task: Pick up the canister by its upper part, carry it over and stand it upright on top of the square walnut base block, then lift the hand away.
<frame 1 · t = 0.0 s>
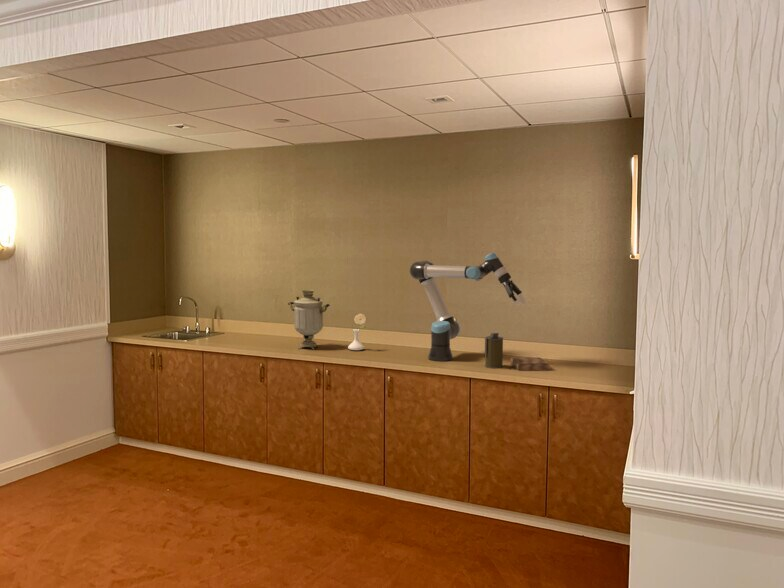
hand: (522, 304, 367), 36 cm above the counter, tool tilted 35°, fingers open, 13 cm apart
flower in vase: (357, 350, 410), on the counter
samovar: (311, 347, 419), on the counter
walnut base: (529, 367, 356), on the counter
canister: (493, 366, 358), on the counter
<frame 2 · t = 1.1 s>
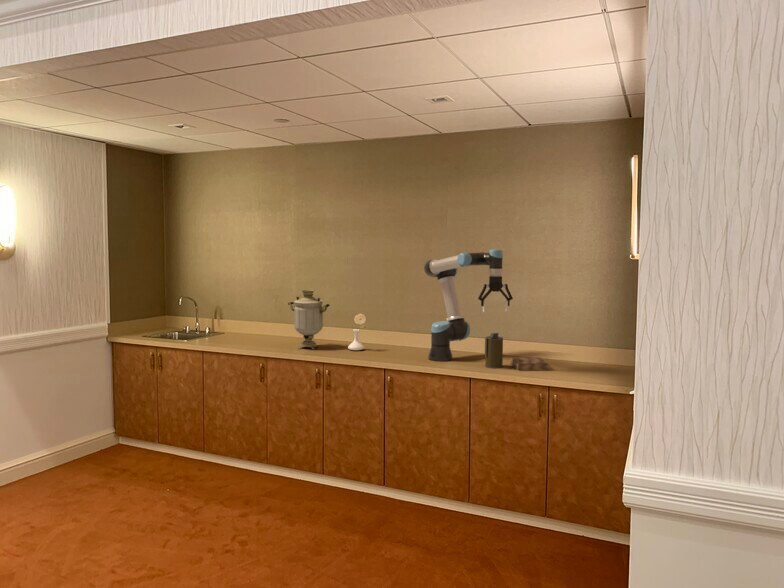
hand: (495, 311, 355), 33 cm above the counter, tool pointing down, fingers open, 13 cm apart
nothing on the counter moved.
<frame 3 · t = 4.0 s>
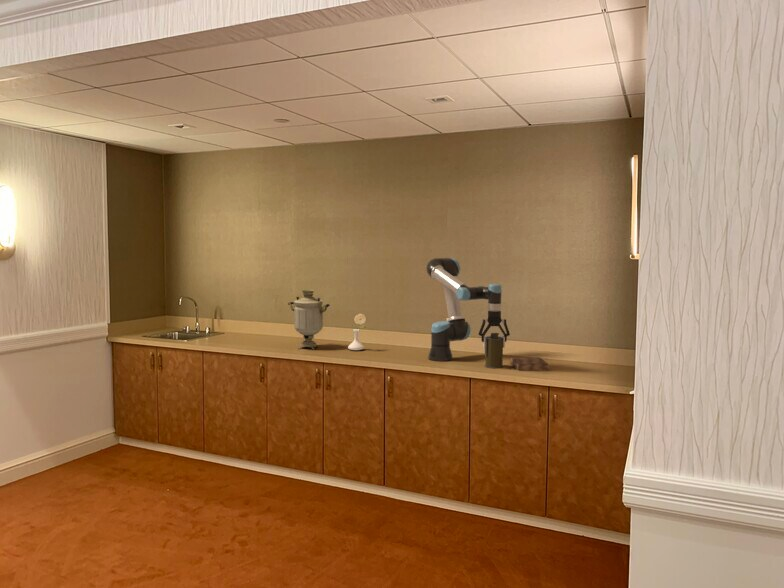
hand: (493, 347, 357), 12 cm above the counter, tool pointing down, fingers closed on canister, 11 cm apart
canister: (493, 366, 358), on the counter, touching gripper
everything else where it was.
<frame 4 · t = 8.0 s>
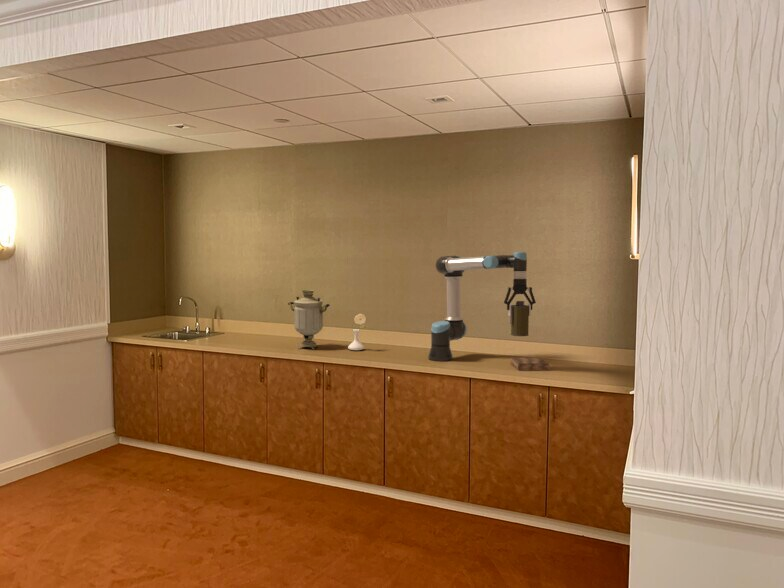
hand: (519, 315, 354), 31 cm above the counter, tool pointing down, fingers closed on canister, 11 cm apart
canister: (519, 335, 355), point 19 cm above the counter, touching gripper
everything else where it was.
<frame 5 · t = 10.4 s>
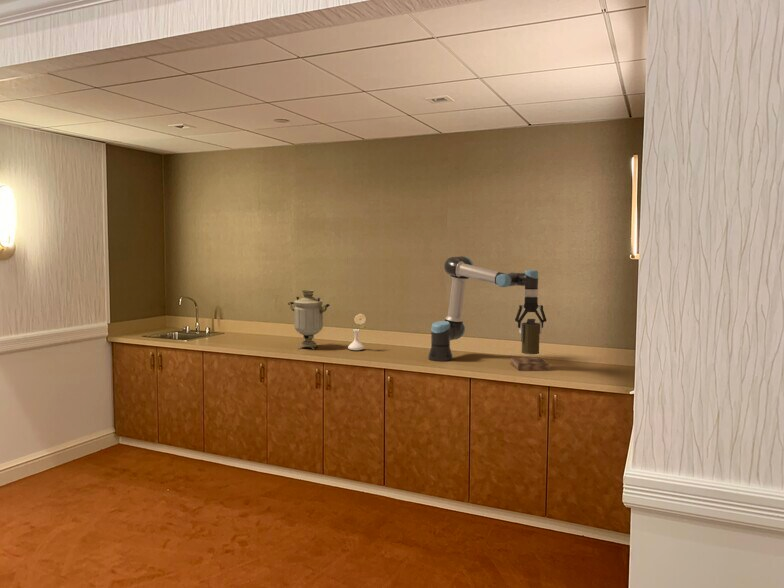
hand: (530, 333, 355), 20 cm above the counter, tool pointing down, fingers closed on canister, 11 cm apart
canister: (529, 353, 356), point 8 cm above the counter, touching gripper
everything else where it was.
when the fingers open (16 cm above the counter, at t = 12.4 s): canister stays where it is, resting on walnut base.
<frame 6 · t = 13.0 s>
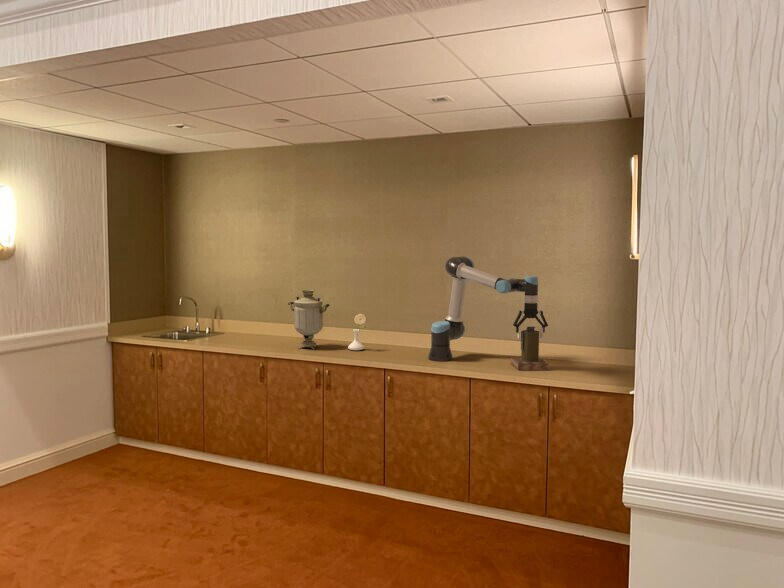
hand: (530, 338, 355), 17 cm above the counter, tool pointing down, fingers open, 13 cm apart
canister: (529, 360, 356), point 4 cm above the counter, touching walnut base
everything else where it was.
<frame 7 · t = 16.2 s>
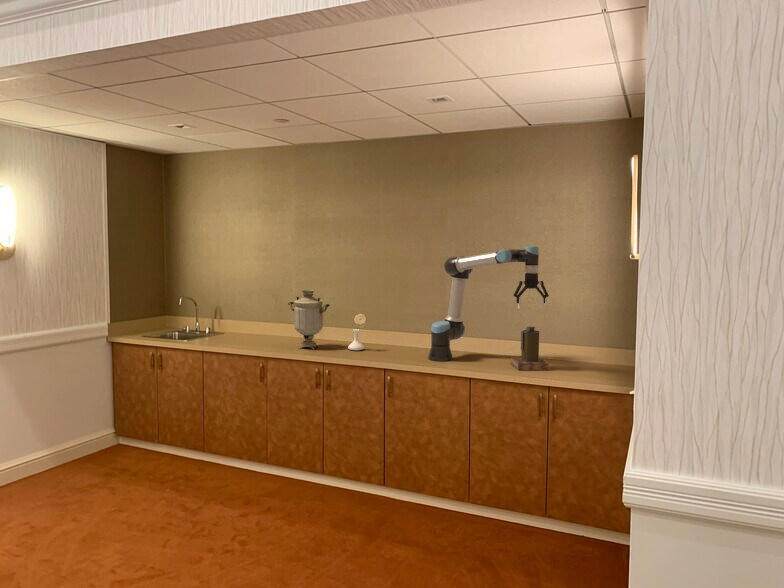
hand: (530, 308, 353), 35 cm above the counter, tool pointing down, fingers open, 13 cm apart
nothing on the counter moved.
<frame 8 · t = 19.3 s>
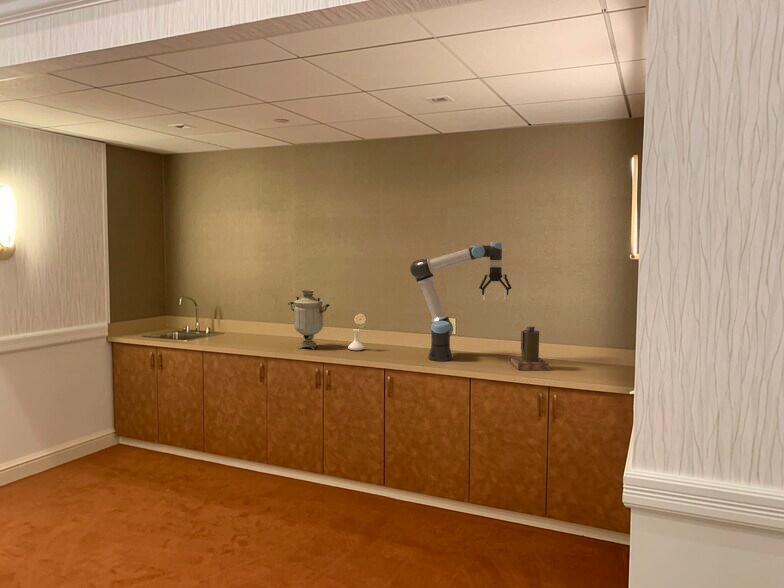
hand: (495, 300, 382), 37 cm above the counter, tool pointing down, fingers open, 13 cm apart
nothing on the counter moved.
at the end: canister inside the target area on the walnut base (0.1 cm from its centre), point 3.8 cm above the walnut base's base; canister tilted 0°; the gripper is holding nothing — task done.
